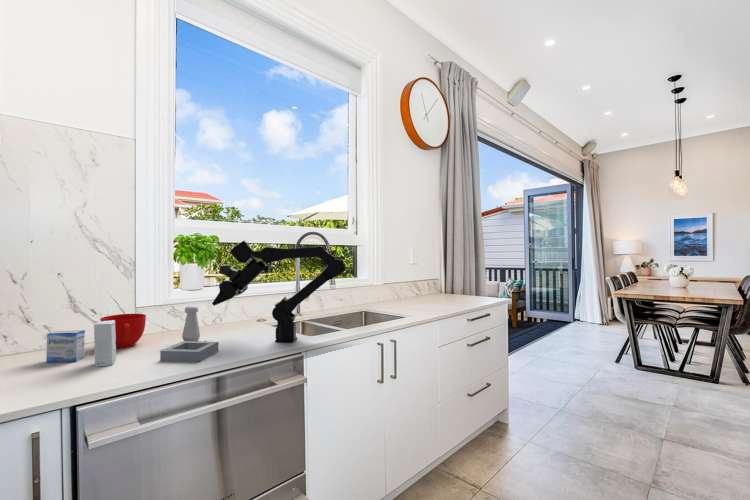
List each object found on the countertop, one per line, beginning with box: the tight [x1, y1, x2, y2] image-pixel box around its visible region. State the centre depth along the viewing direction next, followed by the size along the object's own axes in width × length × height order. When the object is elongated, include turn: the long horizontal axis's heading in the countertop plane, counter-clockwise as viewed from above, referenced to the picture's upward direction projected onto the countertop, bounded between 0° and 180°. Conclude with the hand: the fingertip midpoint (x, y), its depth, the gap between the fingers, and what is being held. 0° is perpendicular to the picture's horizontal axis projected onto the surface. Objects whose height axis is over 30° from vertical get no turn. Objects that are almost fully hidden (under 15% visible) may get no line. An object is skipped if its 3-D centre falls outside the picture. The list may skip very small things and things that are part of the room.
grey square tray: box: [159, 340, 219, 363], centre depth 117 cm, size 12×12×3 cm
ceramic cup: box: [100, 313, 147, 349], centre depth 127 cm, size 13×17×10 cm
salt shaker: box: [181, 305, 201, 341], centre depth 134 cm, size 6×6×13 cm
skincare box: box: [93, 320, 117, 368], centre depth 109 cm, size 6×4×12 cm
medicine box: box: [45, 329, 86, 364], centre depth 112 cm, size 8×4×9 cm, turn 101°
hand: (217, 302), depth 135 cm, fingers open, 9 cm apart
